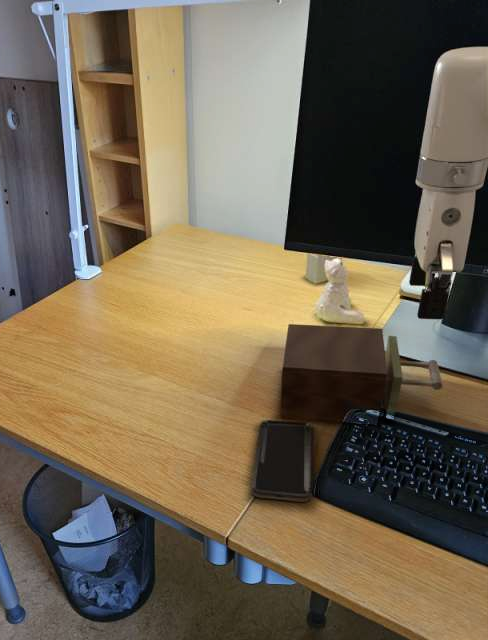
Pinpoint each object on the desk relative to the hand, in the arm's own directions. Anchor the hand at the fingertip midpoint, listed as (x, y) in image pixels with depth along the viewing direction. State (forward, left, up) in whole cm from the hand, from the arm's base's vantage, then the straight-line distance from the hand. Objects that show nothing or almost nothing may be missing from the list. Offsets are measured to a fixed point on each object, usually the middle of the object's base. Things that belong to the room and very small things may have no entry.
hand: (425, 300), depth 77 cm
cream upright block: (+13, -46, -18) cm, 51 cm away
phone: (+17, +15, -18) cm, 29 cm away
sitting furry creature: (+10, -28, -18) cm, 35 cm away
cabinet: (+11, -1, -18) cm, 21 cm away
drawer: (+5, -1, -17) cm, 18 cm away
